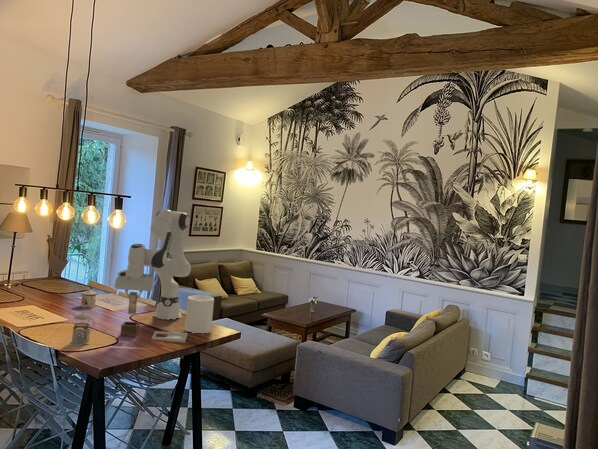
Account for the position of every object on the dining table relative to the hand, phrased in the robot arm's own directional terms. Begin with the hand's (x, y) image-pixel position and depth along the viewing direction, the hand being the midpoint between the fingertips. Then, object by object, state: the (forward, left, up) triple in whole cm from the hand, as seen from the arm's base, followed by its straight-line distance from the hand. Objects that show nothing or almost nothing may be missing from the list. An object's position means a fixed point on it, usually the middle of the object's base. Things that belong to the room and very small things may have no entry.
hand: (133, 297), depth 244 cm
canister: (-20, +36, -22) cm, 46 cm away
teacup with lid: (-61, -40, -22) cm, 76 cm away
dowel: (0, 0, -9) cm, 9 cm away
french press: (+16, -20, -22) cm, 34 cm away
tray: (0, +22, -22) cm, 31 cm away
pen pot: (0, 0, -22) cm, 22 cm away
